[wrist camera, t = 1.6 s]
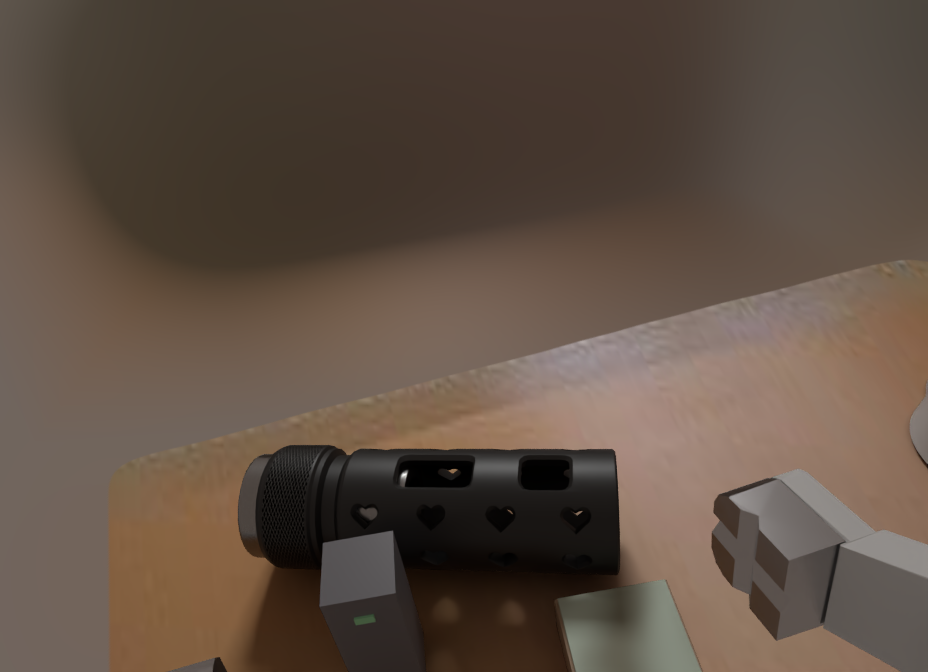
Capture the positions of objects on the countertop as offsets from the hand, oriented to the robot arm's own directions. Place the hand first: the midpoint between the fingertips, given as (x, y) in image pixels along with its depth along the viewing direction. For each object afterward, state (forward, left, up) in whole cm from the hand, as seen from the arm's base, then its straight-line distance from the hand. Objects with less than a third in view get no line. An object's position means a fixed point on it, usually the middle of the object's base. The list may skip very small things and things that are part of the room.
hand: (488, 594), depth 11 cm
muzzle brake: (+4, -29, -38) cm, 48 cm away
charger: (+8, -20, -38) cm, 44 cm away
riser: (-8, -17, -38) cm, 42 cm away
